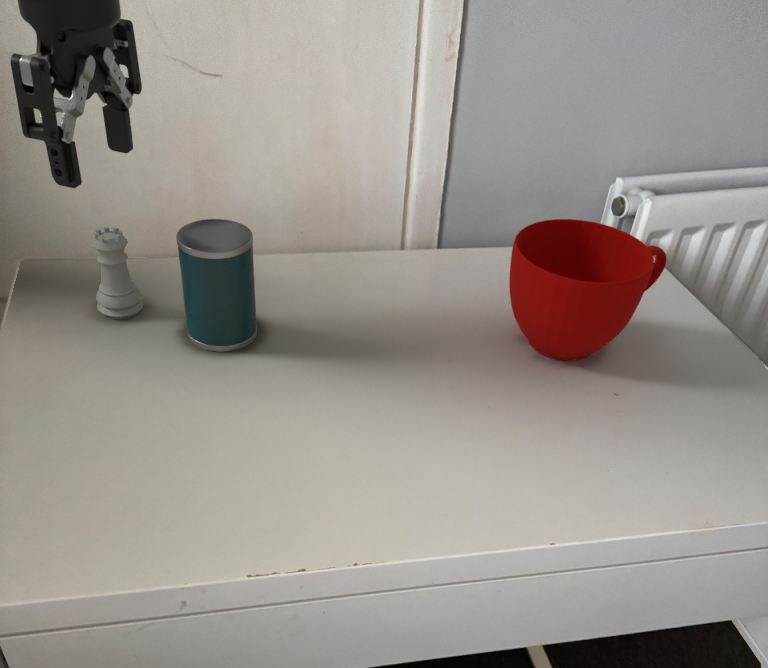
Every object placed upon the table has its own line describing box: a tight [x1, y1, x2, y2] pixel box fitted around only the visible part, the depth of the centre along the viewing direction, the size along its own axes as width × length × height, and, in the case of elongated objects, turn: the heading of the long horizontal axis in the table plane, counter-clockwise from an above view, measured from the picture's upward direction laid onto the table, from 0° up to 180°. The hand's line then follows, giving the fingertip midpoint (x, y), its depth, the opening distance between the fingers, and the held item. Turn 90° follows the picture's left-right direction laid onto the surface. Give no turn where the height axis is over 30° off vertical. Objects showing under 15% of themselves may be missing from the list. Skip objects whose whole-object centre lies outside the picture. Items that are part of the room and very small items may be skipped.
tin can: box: [175, 218, 258, 353], centre depth 78 cm, size 7×7×10 cm
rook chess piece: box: [91, 226, 145, 320], centre depth 80 cm, size 4×4×8 cm
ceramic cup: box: [508, 218, 667, 361], centre depth 81 cm, size 13×17×10 cm
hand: (95, 167), depth 73 cm, fingers open, 8 cm apart
